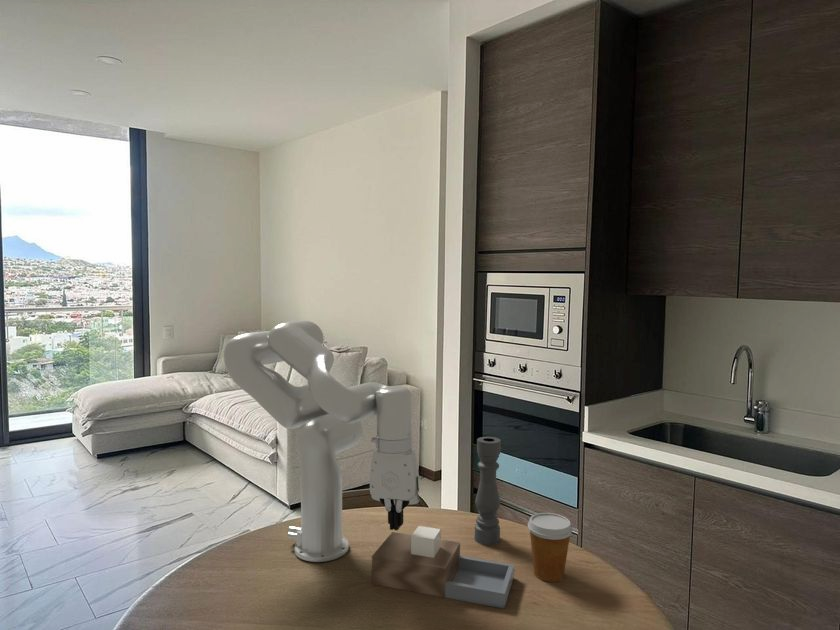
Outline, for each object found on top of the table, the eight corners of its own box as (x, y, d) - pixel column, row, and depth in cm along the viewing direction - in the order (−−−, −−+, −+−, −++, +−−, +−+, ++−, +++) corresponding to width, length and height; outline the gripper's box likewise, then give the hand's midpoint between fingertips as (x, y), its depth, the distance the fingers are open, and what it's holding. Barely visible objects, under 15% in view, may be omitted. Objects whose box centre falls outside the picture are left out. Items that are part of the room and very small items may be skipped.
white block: (411, 554, 120) (411, 535, 119) (418, 543, 124) (418, 525, 124) (433, 557, 118) (434, 539, 118) (440, 547, 123) (440, 529, 123)
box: (445, 597, 114) (445, 583, 114) (459, 568, 126) (459, 555, 125) (504, 608, 110) (504, 593, 110) (513, 578, 122) (514, 564, 122)
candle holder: (499, 546, 136) (500, 444, 135) (473, 543, 137) (474, 442, 136) (500, 535, 142) (502, 437, 141) (475, 532, 143) (477, 435, 142)
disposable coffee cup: (546, 590, 117) (547, 534, 116) (517, 569, 126) (518, 516, 125) (580, 579, 122) (582, 525, 121) (551, 559, 130) (552, 508, 129)
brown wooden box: (371, 583, 119) (371, 556, 119) (392, 557, 130) (392, 531, 130) (445, 597, 114) (445, 568, 114) (459, 568, 126) (460, 542, 125)
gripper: (355, 446, 121) (357, 530, 122) (422, 452, 116) (423, 539, 117) (369, 437, 128) (370, 517, 129) (432, 442, 123) (433, 524, 124)
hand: (395, 527), depth 123 cm, fingers closed
